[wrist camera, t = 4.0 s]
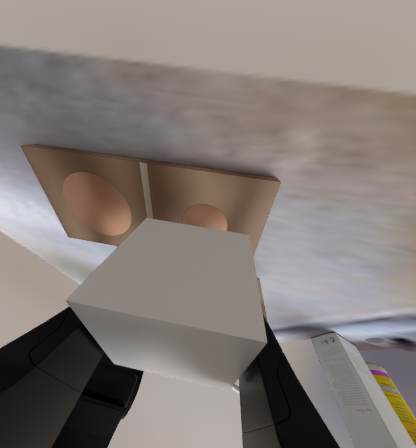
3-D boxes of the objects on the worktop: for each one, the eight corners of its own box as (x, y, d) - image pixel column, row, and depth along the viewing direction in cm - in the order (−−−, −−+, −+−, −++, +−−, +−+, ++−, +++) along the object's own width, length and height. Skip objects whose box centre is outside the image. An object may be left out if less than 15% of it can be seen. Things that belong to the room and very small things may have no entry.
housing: (155, 281, 12) (113, 364, 8) (146, 217, 9) (65, 300, 4) (230, 296, 12) (228, 390, 7) (249, 235, 8) (267, 342, 4)
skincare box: (309, 337, 25) (361, 479, 15) (336, 330, 23) (419, 490, 13) (331, 351, 26) (392, 488, 16) (358, 345, 24) (449, 500, 14)
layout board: (76, 231, 19) (67, 237, 18) (35, 144, 14) (19, 145, 13) (247, 261, 18) (248, 269, 17) (276, 178, 12) (281, 182, 11)
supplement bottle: (349, 358, 27) (427, 510, 16) (391, 364, 26) (504, 530, 15) (333, 369, 30) (389, 501, 20) (370, 376, 30) (449, 517, 19)
